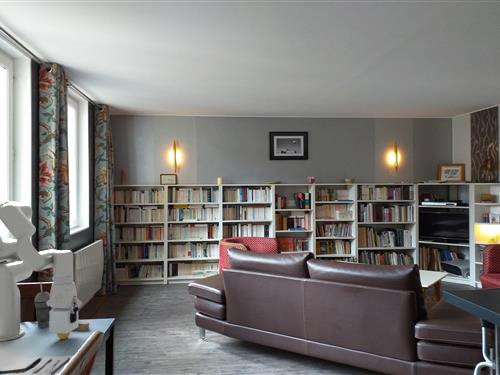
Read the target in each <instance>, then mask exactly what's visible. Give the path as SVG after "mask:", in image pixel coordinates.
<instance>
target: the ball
mask: <svg viewBox="0 0 500 375" xmlns="http://www.w3.org/2000/svg"><path fill="white" fill-rule="evenodd" d="M56 334H57V335H56V336H57V338H59V339H60V340H66V339H67V338H69V337H70V334H71V331H70V332H68V333H67V334H63V333H56Z"/></svg>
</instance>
